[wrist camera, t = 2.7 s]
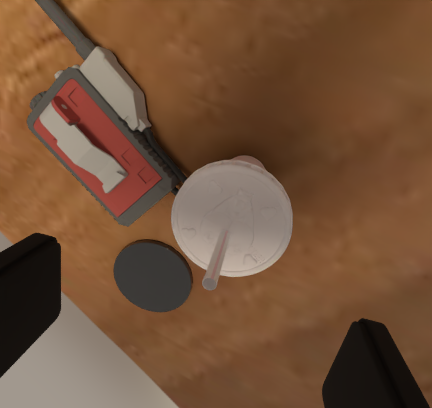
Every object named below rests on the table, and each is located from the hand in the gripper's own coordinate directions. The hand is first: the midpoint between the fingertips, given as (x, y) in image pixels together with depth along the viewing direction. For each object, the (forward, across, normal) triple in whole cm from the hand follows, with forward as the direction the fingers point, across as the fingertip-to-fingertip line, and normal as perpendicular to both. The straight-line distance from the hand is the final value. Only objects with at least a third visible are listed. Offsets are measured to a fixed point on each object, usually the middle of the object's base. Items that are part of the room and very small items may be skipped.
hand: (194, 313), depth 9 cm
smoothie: (+16, 0, 0) cm, 16 cm away
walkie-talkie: (+16, +13, -3) cm, 21 cm away
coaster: (+16, +6, +12) cm, 21 cm away
